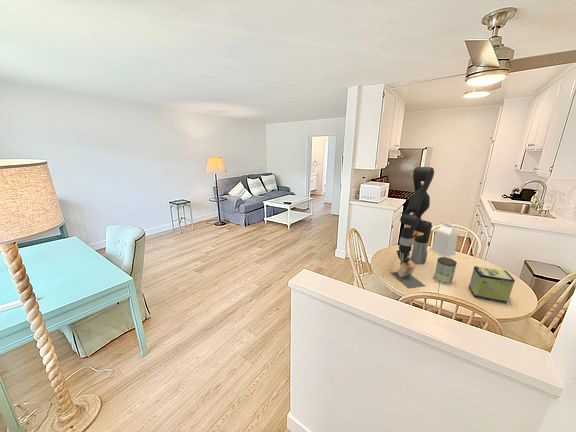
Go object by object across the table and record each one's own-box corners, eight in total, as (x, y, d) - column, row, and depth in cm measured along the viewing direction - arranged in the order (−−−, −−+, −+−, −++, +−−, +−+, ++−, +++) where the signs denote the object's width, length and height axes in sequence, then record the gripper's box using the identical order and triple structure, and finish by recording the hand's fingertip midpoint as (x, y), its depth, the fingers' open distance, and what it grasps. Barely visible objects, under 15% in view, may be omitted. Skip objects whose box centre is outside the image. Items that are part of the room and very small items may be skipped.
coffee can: (432, 274, 155) (435, 256, 150) (449, 276, 151) (453, 258, 147) (436, 282, 145) (440, 263, 141) (454, 285, 142) (459, 265, 138)
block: (405, 271, 156) (411, 261, 149) (409, 276, 152) (415, 267, 146) (396, 272, 154) (401, 262, 148) (400, 277, 151) (405, 268, 145)
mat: (406, 271, 159) (406, 270, 159) (425, 286, 142) (425, 285, 142) (391, 273, 157) (391, 272, 157) (408, 288, 140) (408, 287, 140)
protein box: (507, 303, 125) (515, 280, 120) (473, 297, 131) (480, 274, 126) (499, 292, 134) (506, 270, 129) (468, 287, 140) (473, 265, 135)
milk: (431, 251, 188) (436, 222, 180) (440, 248, 192) (446, 220, 184) (445, 257, 177) (451, 227, 169) (454, 254, 181) (461, 224, 173)
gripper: (417, 247, 142) (413, 270, 147) (404, 239, 155) (401, 261, 160) (407, 248, 141) (403, 271, 146) (394, 239, 154) (391, 262, 159)
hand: (402, 266), depth 153 cm, fingers closed
